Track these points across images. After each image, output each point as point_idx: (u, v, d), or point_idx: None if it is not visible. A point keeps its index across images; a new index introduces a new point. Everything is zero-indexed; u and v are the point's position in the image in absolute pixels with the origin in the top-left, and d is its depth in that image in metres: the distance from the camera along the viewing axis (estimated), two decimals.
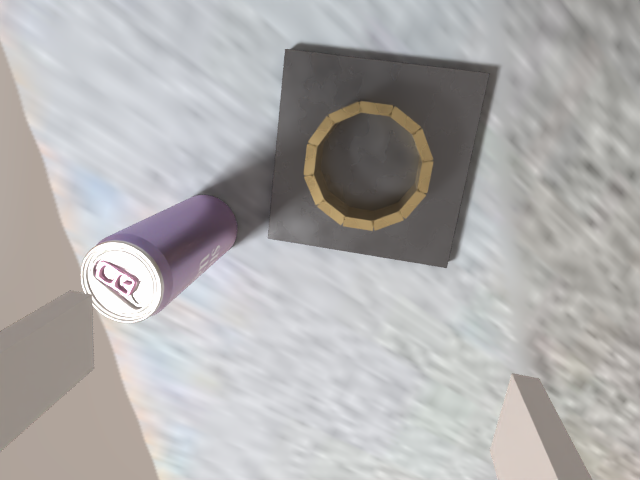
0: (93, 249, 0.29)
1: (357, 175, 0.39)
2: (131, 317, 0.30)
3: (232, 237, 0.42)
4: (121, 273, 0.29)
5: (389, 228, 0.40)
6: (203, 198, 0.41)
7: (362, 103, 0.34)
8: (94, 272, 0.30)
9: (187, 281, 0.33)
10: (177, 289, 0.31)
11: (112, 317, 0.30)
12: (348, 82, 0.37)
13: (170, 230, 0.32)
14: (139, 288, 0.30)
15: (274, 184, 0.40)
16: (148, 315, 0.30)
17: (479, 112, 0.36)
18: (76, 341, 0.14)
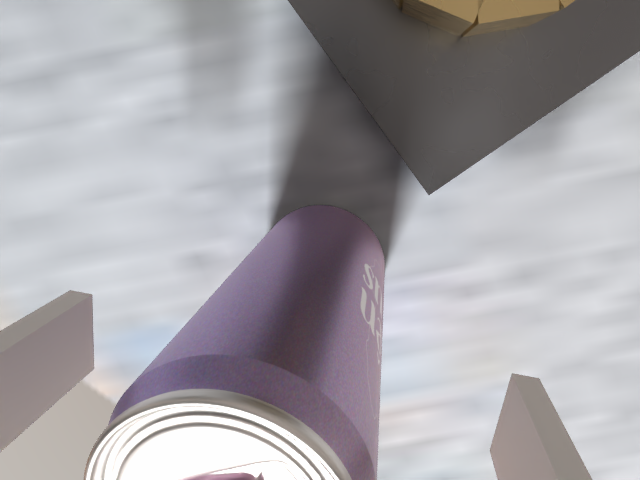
0: None
1: None
2: None
3: (374, 242, 0.20)
4: None
5: None
6: (279, 222, 0.21)
7: None
8: None
9: (371, 374, 0.12)
10: (367, 415, 0.10)
11: None
12: None
13: (244, 296, 0.12)
14: None
15: (363, 98, 0.19)
16: None
17: None
18: (76, 341, 0.14)
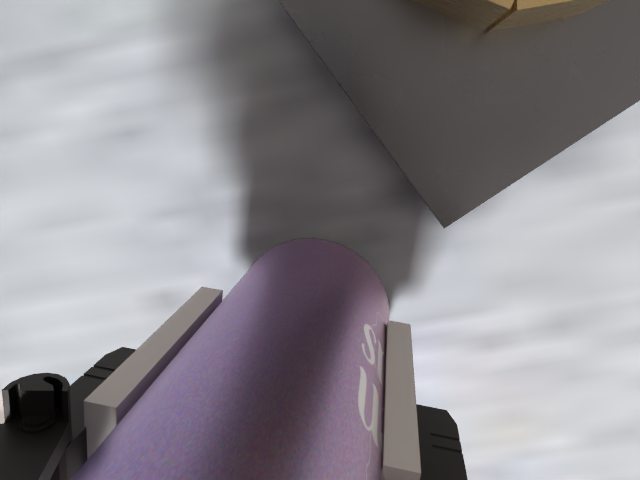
0: None
1: None
2: None
3: (376, 287, 0.16)
4: None
5: None
6: (259, 262, 0.17)
7: None
8: None
9: None
10: None
11: None
12: None
13: (183, 409, 0.08)
14: None
15: (362, 108, 0.15)
16: None
17: None
18: None
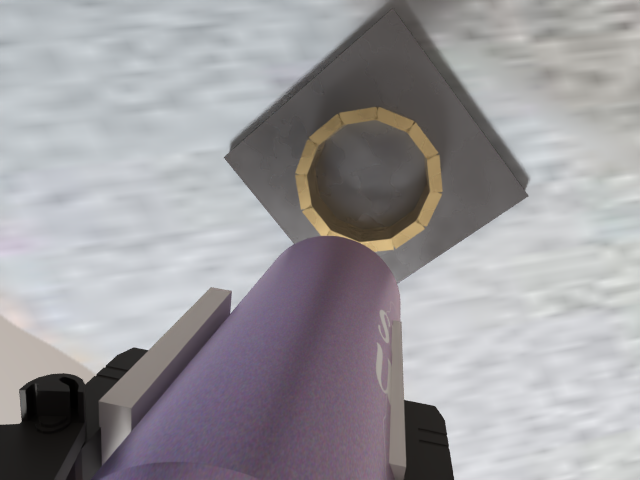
0: None
1: (371, 195, 0.35)
2: None
3: (389, 280, 0.18)
4: None
5: (441, 211, 0.34)
6: (283, 255, 0.18)
7: (312, 137, 0.31)
8: None
9: (390, 467, 0.09)
10: None
11: None
12: (292, 132, 0.34)
13: (234, 364, 0.10)
14: None
15: None
16: None
17: (417, 45, 0.31)
18: None
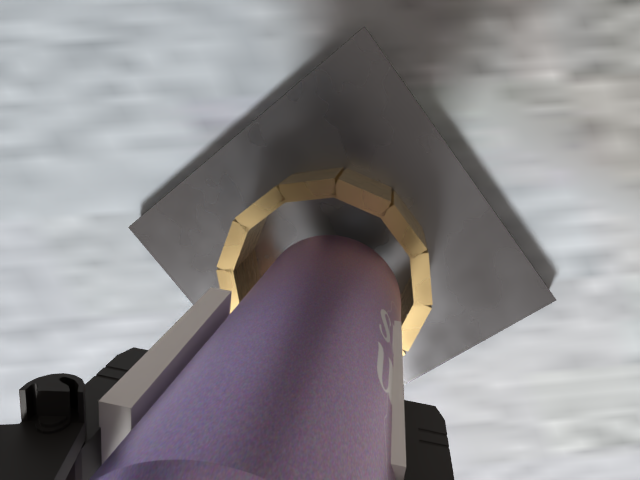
0: None
1: None
2: None
3: (390, 280, 0.18)
4: None
5: (432, 314, 0.24)
6: (284, 254, 0.18)
7: (239, 218, 0.21)
8: None
9: (391, 466, 0.09)
10: None
11: None
12: (221, 198, 0.24)
13: (236, 362, 0.10)
14: None
15: None
16: None
17: (400, 82, 0.21)
18: None
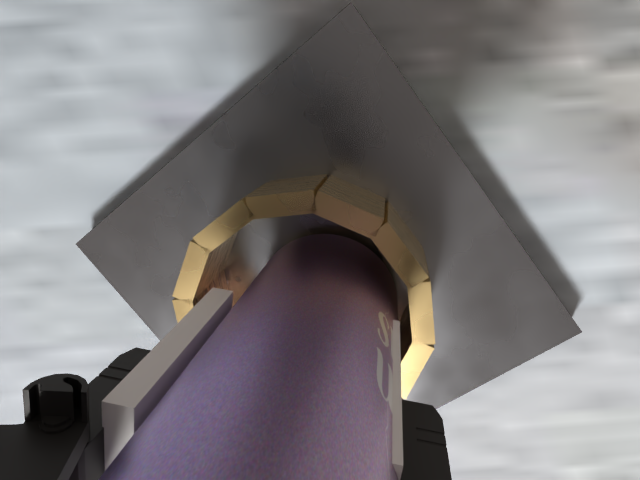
0: None
1: None
2: None
3: (387, 279, 0.18)
4: None
5: (433, 347, 0.20)
6: (279, 254, 0.18)
7: (198, 238, 0.17)
8: None
9: None
10: None
11: None
12: (183, 210, 0.20)
13: (232, 374, 0.09)
14: None
15: None
16: None
17: (395, 70, 0.17)
18: None
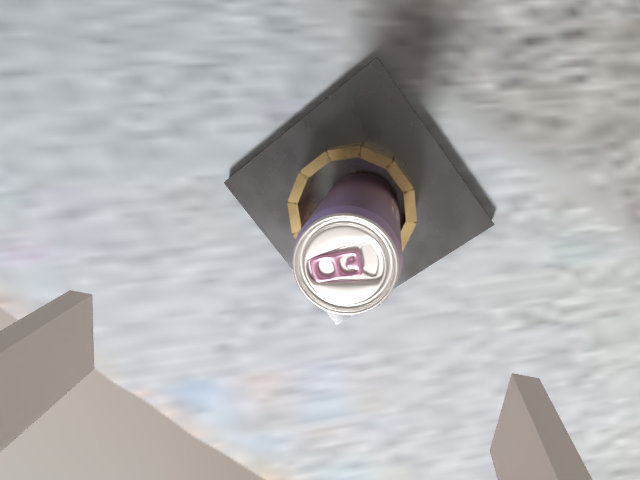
0: (294, 254, 0.24)
1: None
2: (380, 295, 0.25)
3: (393, 193, 0.36)
4: (337, 255, 0.24)
5: (418, 235, 0.38)
6: (340, 181, 0.36)
7: (302, 171, 0.35)
8: (312, 279, 0.25)
9: (398, 230, 0.27)
10: (398, 237, 0.25)
11: (363, 310, 0.25)
12: (285, 162, 0.38)
13: (344, 196, 0.27)
14: (365, 259, 0.24)
15: None
16: (395, 276, 0.24)
17: (398, 90, 0.35)
18: (76, 341, 0.14)
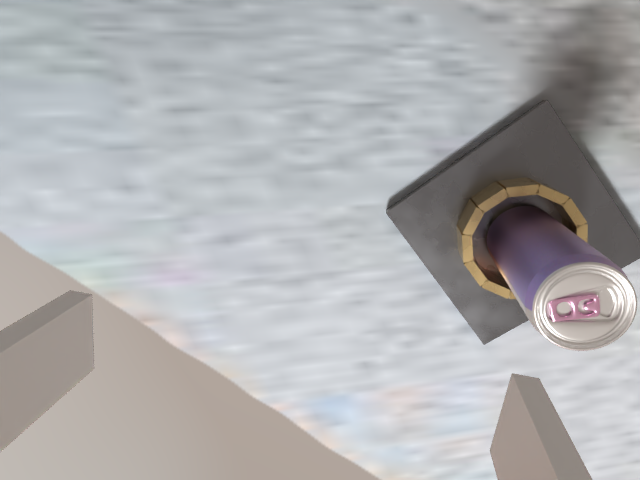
0: (537, 297, 0.27)
1: None
2: (613, 333, 0.27)
3: None
4: (578, 298, 0.27)
5: None
6: (509, 214, 0.39)
7: (480, 206, 0.38)
8: (549, 318, 0.28)
9: None
10: None
11: (596, 346, 0.28)
12: (448, 195, 0.41)
13: (560, 240, 0.30)
14: (601, 301, 0.27)
15: (456, 304, 0.44)
16: (632, 317, 0.27)
17: (565, 130, 0.38)
18: (76, 341, 0.14)
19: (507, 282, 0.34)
